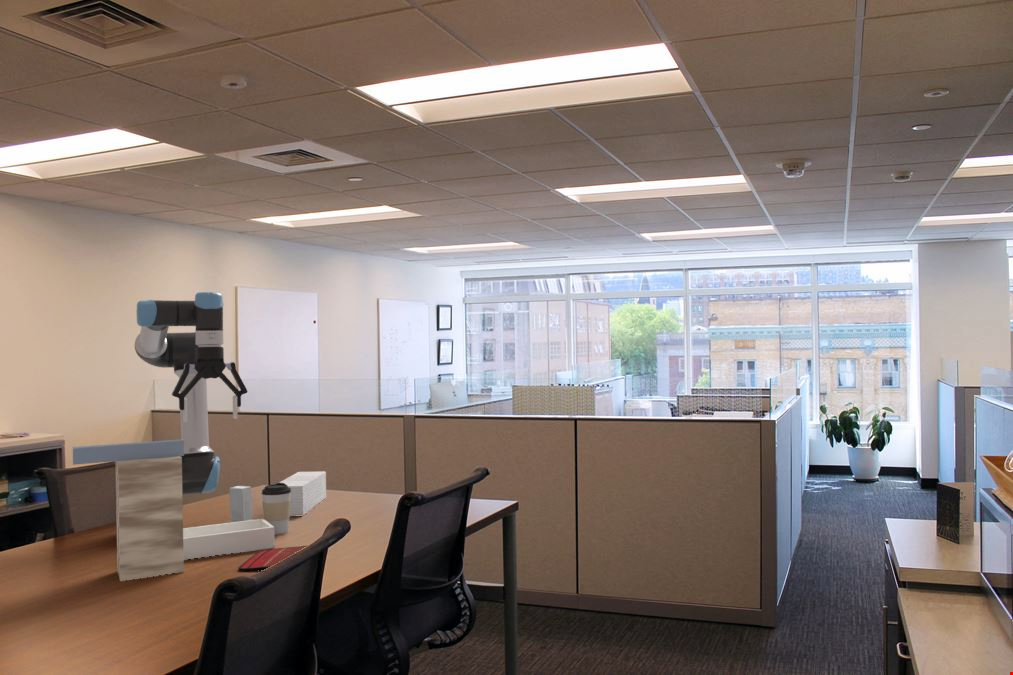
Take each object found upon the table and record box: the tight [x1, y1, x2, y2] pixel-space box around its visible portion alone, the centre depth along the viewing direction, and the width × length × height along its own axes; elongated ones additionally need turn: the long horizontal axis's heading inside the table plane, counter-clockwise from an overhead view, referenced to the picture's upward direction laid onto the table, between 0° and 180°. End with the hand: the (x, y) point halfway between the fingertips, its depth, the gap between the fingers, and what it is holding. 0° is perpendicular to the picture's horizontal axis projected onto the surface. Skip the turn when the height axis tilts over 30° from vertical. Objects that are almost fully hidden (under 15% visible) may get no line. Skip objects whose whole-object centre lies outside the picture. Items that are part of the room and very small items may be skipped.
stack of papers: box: [278, 470, 327, 516], centre depth 293 cm, size 32×11×11 cm, turn 179°
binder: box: [238, 545, 307, 572], centre depth 220 cm, size 16×2×21 cm
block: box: [72, 438, 184, 466], centre depth 209 cm, size 4×26×4 cm, turn 120°
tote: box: [183, 518, 276, 561], centre depth 232 cm, size 14×33×6 cm, turn 119°
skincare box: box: [229, 485, 254, 523], centre depth 268 cm, size 6×4×12 cm
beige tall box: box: [115, 456, 185, 582], centre depth 211 cm, size 11×15×30 cm
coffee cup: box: [261, 482, 291, 535], centre depth 254 cm, size 9×9×15 cm
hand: (210, 420), depth 230 cm, fingers open, 13 cm apart
